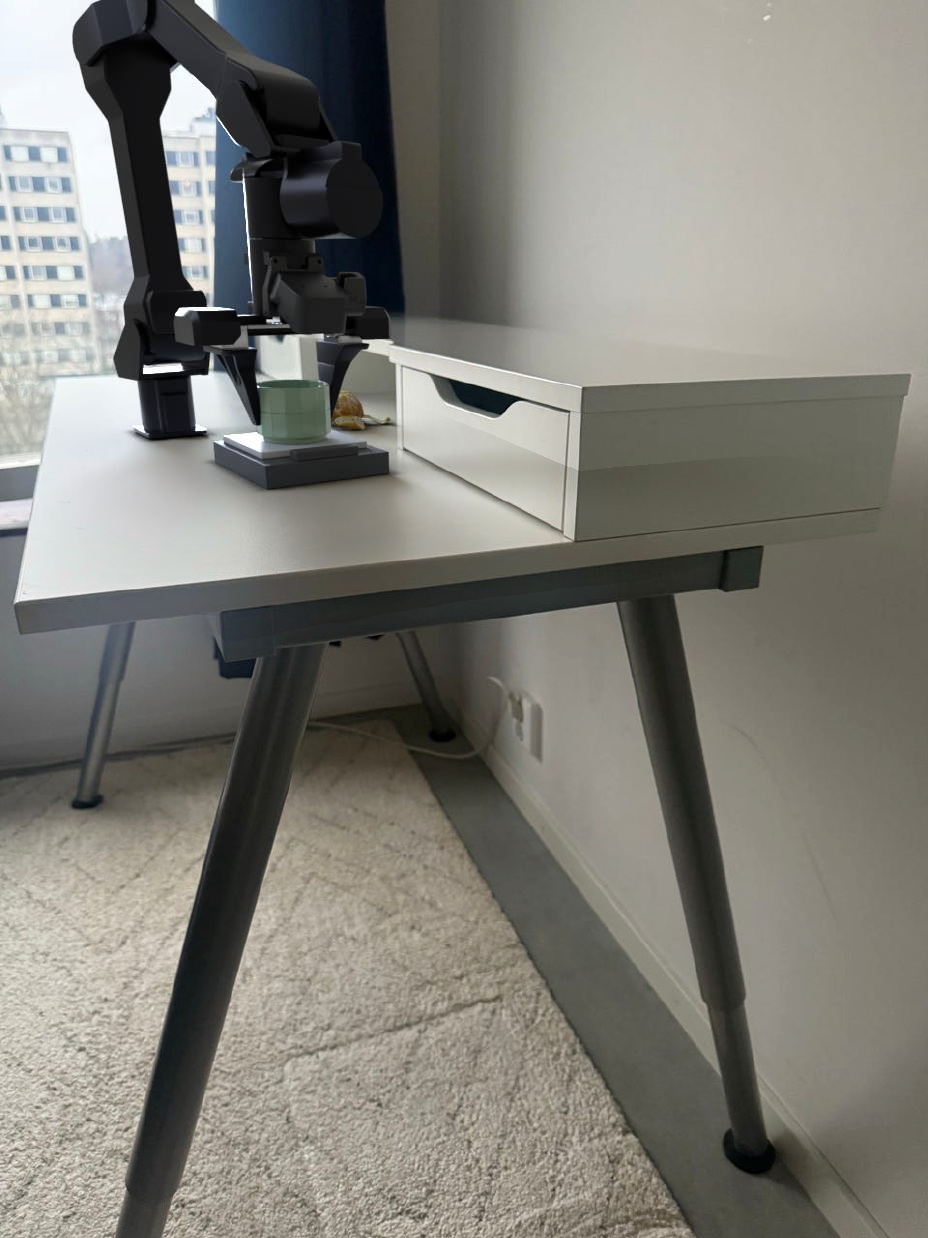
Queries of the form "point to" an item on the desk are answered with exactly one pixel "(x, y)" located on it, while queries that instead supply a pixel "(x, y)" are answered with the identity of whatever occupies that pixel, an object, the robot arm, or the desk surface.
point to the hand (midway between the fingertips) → (292, 421)
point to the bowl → (294, 411)
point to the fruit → (351, 412)
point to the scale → (299, 459)
